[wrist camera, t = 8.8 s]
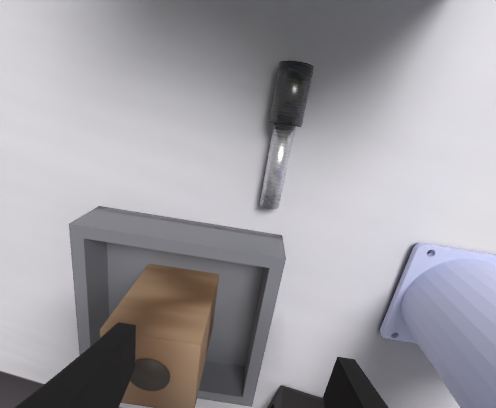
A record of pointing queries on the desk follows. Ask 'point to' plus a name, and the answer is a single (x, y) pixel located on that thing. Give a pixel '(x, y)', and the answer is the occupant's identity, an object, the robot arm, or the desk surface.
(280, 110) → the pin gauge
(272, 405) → the phone stand
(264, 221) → the desk surface
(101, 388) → the robot arm
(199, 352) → the block
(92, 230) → the tray
